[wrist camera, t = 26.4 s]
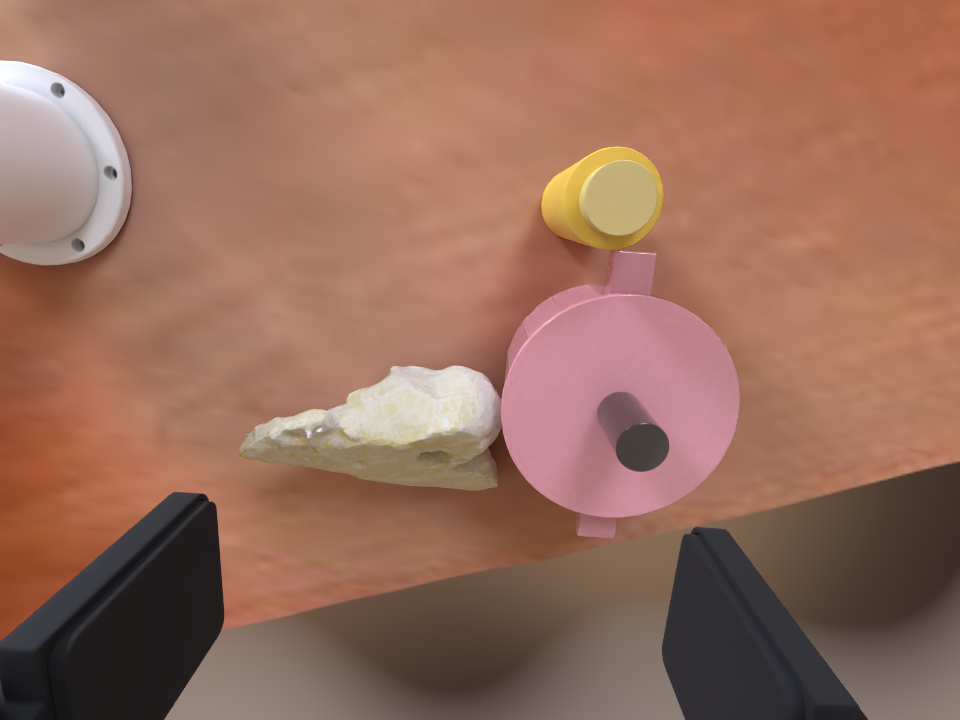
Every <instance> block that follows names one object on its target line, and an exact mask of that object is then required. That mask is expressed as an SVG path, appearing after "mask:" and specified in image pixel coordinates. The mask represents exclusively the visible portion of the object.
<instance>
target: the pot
mask: <svg viewBox="0 0 960 720" xmlns="http://www.w3.org/2000/svg"><path fill="white" fill-rule="evenodd" d="M656 256H657V254H656V253H652V252H639V251H624V250H611V251H610V256H609V264H608V272H607V280H606V285H589V284H587V285H583V286H578V287H574V288H570V289H567V290H564V291H562V292H560V293H557V294H555V295H553V296H552V297H550V298H548V299H546V300H545V301H544V302H542V303H541V304H540V305H538V306H537V307H536V308H535V309H534V310H533V311H532V312H531V313H530V314H528V316H527V317H526V318H525V319H524V320H523V321H522V323H521V325H520V326H519V328H518V329H517V331H516V333H515V335H514V337H513V339H512V342H511V344H510V346H509V348H508V351H507V360H506V372H505V380H506V377H507V373H508V371H509V369H510V367H511V364H512V362H513V360H514V358H515V356H516V355H517V353H518V352H519V350H520V348H521V347H522V345H523V344H524V343H525V342H526V341H527V339H528V338H529V337H530V336H531V334H532V333H533V332H534V331H536V330H537V329H538V328H539V327H540V326H541V325H542V324H543V323H544V322H546V321H547V320H548V319H550V318H551V317H552V316H554V315H555V314H557V313H558V312H560V311H562V310H564V309H566V308H567V307H569V306H571V305H574V304H576V303H579V302H581V301H584V300H586V299H590V298H594V297H598V296H602V295H610V294H617V293H634V294H642V295H649V296H651V290H652V283H653V277H654V270H655V263H656ZM617 519H618V518H605V517H597V516H590V515H586V514H582V513H578V512H577V519H576V531H577V535H578V536H584V537H598V538H613V539H614V538H615V533H616V526H617Z"/></svg>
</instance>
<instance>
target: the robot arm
mask: <svg viewBox="0 0 960 720" xmlns="http://www.w3.org/2000/svg"><path fill="white" fill-rule="evenodd" d="M131 194H132V179H131V168H130V164H129V160H128V156H127V151H126V149H125V147H124V144H123V142H122V139H121V137H120V135H119V132H118V131H117V129H116V127H115V126H114V124H113V123H112V121H111V119H110V118H109V116H108V115H107V113H106V112H105V111H104V110H103V109H102V108H101V106H100V105H99V104H98V103H97V102H96V101H95V99H94V98H92V97H91V96H90V95H89V94H88V93H86V92H85V91H84V90H83V89H82V88H81V87H79V86H78V85H77V84H75V83H73V82H72V81H70V80H68V79H67V78H65V77H63V76H62V75H60V74H57V73H54V72H52V71H49V70H46V69H44V68H41V67H38V66H34V65H30V64H27V63H23V62H14V61H0V253H2V254H4V255H5V256H7V257H10V258H13V259H16V260H19V261H22V262H25V263H31V264H37V265H61V264H68V263H75V262H78V261H81V260H84V259H87V258H90V257H92V256H93V255H95V254H97V253H98V252H100V251H101V250H103V249H104V248H105V247H106V246H107V245H108V244H109V243H110V242H111V241H112V240H113V239H114V238H115V237H116V236H117V234H118V232H119V231H120V229H121V227H122V226H123V224H124V222H125V219H126V216H127V213H128V211H129V208H130V201H131ZM223 622H224V603H223V590H222V576H221V563H220V549H219V536H218V522H217V509H216V505H215V503H213V502H209V500H208V498H207V496H206V495H205V494H198V493H183V492H173V493H172V494H170V495H169V496H168V497H167V498H165V499H164V500H163V501H162V502H161V503H160V504H159V505H157V506H156V507H155V508H154V509H153V510H152V511H151V512H149V513H148V514H147V515H146V516H145V517H144V518H142V519H141V520H140V521H139V522H138V523H137V524H136V525H134V526H133V527H132V528H131V529H130V530H129V531H127V532H126V533H125V534H124V535H123V536H122V537H121V538H119V539H118V540H117V541H116V542H115V543H114V544H113V545H111V546H110V547H109V548H108V549H107V550H106V551H104V552H103V553H102V554H101V555H100V556H99V557H98V558H96V559H95V560H94V561H93V562H92V563H91V564H89V565H88V566H87V567H86V568H85V569H84V570H83V571H81V572H80V573H79V574H78V575H77V576H76V577H75V578H73V579H72V580H71V581H70V582H69V583H68V584H66V585H65V586H64V587H63V588H62V589H61V590H60V591H58V592H57V593H56V594H55V595H54V596H53V597H51V598H50V599H49V600H48V601H47V602H46V603H45V604H43V605H42V606H41V607H40V608H39V609H38V610H37V611H35V612H34V613H33V614H32V615H31V616H30V617H28V618H27V619H26V620H25V621H24V622H23V623H22V624H20V625H19V626H18V627H17V628H16V629H15V630H13V631H12V632H11V633H10V634H9V635H8V636H7V637H5V638H4V639H3V640H2V641H1V642H0V720H164V719H165V717H166V716H167V714H168V713H169V711H170V710H171V708H172V707H173V705H174V703H175V702H176V700H177V699H178V697H179V696H180V694H181V693H182V691H183V690H184V688H185V686H186V685H187V683H188V682H189V680H190V679H191V677H192V676H193V674H194V673H195V671H196V670H197V668H198V666H199V665H200V663H201V662H202V660H203V659H204V657H205V656H206V654H207V653H208V651H209V650H210V648H211V646H212V645H213V643H214V642H215V640H216V639H217V637H218V635H219V633H220V632H221V629H222V626H223ZM662 656H663V662H664V665H665V668H666V671H667V674H668V676H669V679H670V681H671V684H672V686H673V689H674V692H675V694H676V697H677V699H678V702H679V704H680V707H681V710H682V712H683V715H684V718H685V720H868V719H867V718H866V716H865V715H864V714H863V712H862V711H861V710H860V708H859V706H858V704H857V703H856V702H855V700H854V699H853V698H852V696H851V695H850V694H849V692H848V691H847V690H846V688H845V687H844V686H843V684H842V683H841V682H840V680H839V679H838V678H837V676H836V675H835V674H834V673H833V671H832V670H831V668H830V667H829V666H828V664H827V663H826V662H825V661H824V659H823V658H822V656H821V655H820V654H819V652H818V651H817V650H816V648H815V647H814V646H813V645H812V643H811V642H810V640H809V639H808V638H807V637H806V635H805V634H804V632H803V631H802V630H801V629H800V627H799V626H798V624H797V623H796V622H795V620H794V619H793V618H792V616H791V615H790V614H789V612H788V611H787V610H786V608H785V607H784V606H783V605H782V603H781V602H780V601H779V599H778V598H777V596H776V595H775V594H774V593H773V591H772V590H771V588H770V587H769V586H768V584H767V583H766V582H765V581H764V579H763V578H762V576H761V575H760V574H759V573H758V571H757V570H756V569H755V567H754V566H753V564H752V563H751V562H750V560H749V559H748V558H747V557H746V555H745V554H744V552H743V551H742V550H741V548H740V547H739V546H738V544H737V543H736V542H735V540H734V539H733V538H732V537H731V535H730V534H729V532H727V531H726V530H725V529H715V528H701V527H695V528H694V529H693V530H692V532H691V534H685V535H684V536H683V538H682V542H681V547H680V553H679V558H678V563H677V569H676V574H675V579H674V585H673V590H672V595H671V601H670V606H669V612H668V617H667V622H666V628H665V633H664V639H663V644H662Z"/></svg>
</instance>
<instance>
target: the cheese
mask: <svg viewBox="0 0 960 720" xmlns="http://www.w3.org/2000/svg"><path fill="white" fill-rule="evenodd" d="M501 400H502V399H501V398H500V396H499V395H498V393H497V392H496V390H495V389H494V387H493V385H492V383H491V381H490V380H489V379H488V378H487V377H486V376H485V375H484V374H482V373H481V372H476V371H474V370H472V369H470V368H467V367H463V366H457V365H455V366H450V367H447V368H445V369H443V370H431V369H428V368H423V367H416V366H408V367H399V366H394V367H392V368H391V369H390V374H389V375H388V376H387V377H386V378H385V379H384V380H382V381H380V382H379V383H377V384H375V385H374V386H371V387H367V388H363V389H359V390H356V391H354V392H352V393H351V394H350V395H349V396H348V398H347V403H346V404H344V405H339V406H337V407H335V408H331V409H329V410H327V411H325V410H320V409H312V410H309V411H305V412H302V413H300V414H298V415H295V416H292V417H284V418H280V417H276V418H274V419H273V420H271V421H270V422H268V423H264V424H261V425H258V426H256V427H255V428H254V429H253V431H252V433H248V434H247V436H246V439H245V440H244V442H243V443H242V445H241V446H240V448H239V455H240V456H242V457H244V458H247V459H250V460H258V461H262V462H266V463H276V462H278V463H284V464H288V465H296V466H307V467H313V468H317V469H322V470H326V471H332V472H338V473H347V474H351V475H353V476H354V477H356V478H358V479H365V480H368V481H379V482H384V483H393V484H400V485H403V486H422V487H432V486H435V487H443V488H454V489H463V490H468V491H469V490H484V489H488V488H493V487H497V485H498V474H497V468H496V462H495V460H494V459H493V458H492V455H491V452H490V449H489V448H488V447H489V446H490V445H491V444H492V443H493V442H494V441H495V439H496V438H497V437H498V435H499V433H500V431H501V428H502V422H501Z"/></svg>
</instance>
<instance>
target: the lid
mask: <svg viewBox="0 0 960 720" xmlns="http://www.w3.org/2000/svg"><path fill="white" fill-rule="evenodd" d="M739 408H740V390H739V383H738V377H737V373H736V370H735V367H734V364H733V361H732V359H731V357H730V355H729V353H728V350H727V349H726V347H725V346H724V344H723V343H722V341H721V340H720V338H719V337H718V335H717V334H716V333H715V332H714V331H713V330H712V329H711V328H710V327H709V326H708V325H707V324H706V323H705V322H704V321H702V320H701V319H700V318H699V317H698V316H696V315H695V314H693V313H691V312H690V311H688V310H686V309H685V308H683V307H681V306H679V305H677V304H674V303H672V302H670V301H667V300H664V299H661V298H657V297H653V296H649V295H642V294H634V293H617V294H610V295H602V296H598V297H594V298H590V299H586V300H584V301H581V302H579V303H576V304H574V305H571V306H569V307H567V308H566V309H564V310H562V311H560V312H558V313H557V314H555V315H554V316H552V317H551V318H550V319H548V320H547V321H546V322H544V323H543V324H542V325H541V326H540V327H539V328H538V329H537V330H536V331H534V332H533V333H532V334H531V336H530V337H529V338H528V339H527V341H526V342H525V343H524V344H523V345H522V347H521V348H520V350H519V352H518V353H517V355H516V356H515V358H514V360H513V362H512V364H511V367H510V369H509V371H508V373H507V377H506V380H505V383H504V387H503V393H502V400H501V422H502V429H503V435H504V439H505V442H506V446H507V448H508V451H509V453H510V455H511V458H512V460H513V462H514V463H515V465H516V466H517V468H518V470H519V471H520V473H521V474H522V475H523V476H524V477H525V479H526V480H527V481H528V482H529V483H530V484H531V485H532V486H533V487H534V488H535V489H536V490H537V491H538V492H540V493H541V494H542V495H544V496H545V497H547V498H548V499H549V500H551V501H553V502H555V503H556V504H558V505H560V506H562V507H564V508H567V509H569V510H572V511H575V512H578V513H582V514H586V515H590V516H597V517H605V518H621V517H630V516H637V515H641V514H646V513H650V512H653V511H656V510H659V509H661V508H664V507H666V506H668V505H670V504H672V503H674V502H676V501H678V500H680V499H681V498H683V497H684V496H686V495H688V494H689V493H690V492H692V491H693V490H694V489H695V488H697V487H698V486H699V485H700V484H702V483H703V481H704V480H705V479H706V478H707V477H708V476H709V475H710V474H711V473H712V472H713V471H714V469H715V468H716V467H717V466H718V464H719V463H720V462H721V460H722V458H723V457H724V455H725V453H726V451H727V450H728V448H729V445H730V443H731V441H732V438H733V436H734V433H735V429H736V426H737V422H738V416H739Z"/></svg>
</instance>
